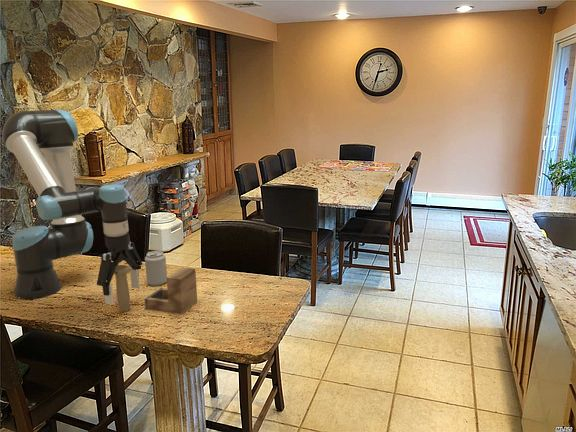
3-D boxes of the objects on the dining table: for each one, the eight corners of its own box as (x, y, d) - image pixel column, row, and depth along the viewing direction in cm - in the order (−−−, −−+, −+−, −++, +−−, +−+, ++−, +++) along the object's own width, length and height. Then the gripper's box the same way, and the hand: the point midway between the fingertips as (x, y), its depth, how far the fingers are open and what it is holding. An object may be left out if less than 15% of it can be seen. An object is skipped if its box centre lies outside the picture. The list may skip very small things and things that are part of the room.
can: (142, 285, 177) (140, 254, 174) (155, 278, 183) (152, 249, 181) (159, 287, 174) (156, 257, 171) (171, 280, 181) (169, 251, 178)
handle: (129, 314, 153) (124, 271, 149) (111, 312, 154) (107, 269, 150) (137, 308, 157) (133, 265, 153) (120, 306, 159) (115, 264, 155)
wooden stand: (145, 308, 157) (142, 275, 154) (162, 296, 166) (159, 264, 163) (182, 313, 152) (180, 279, 150) (197, 301, 162) (195, 268, 159)
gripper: (100, 245, 137) (107, 312, 142) (149, 224, 160) (154, 282, 165) (79, 243, 139) (87, 309, 144) (130, 223, 162) (136, 280, 167)
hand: (123, 295), depth 154 cm, fingers open, 13 cm apart
